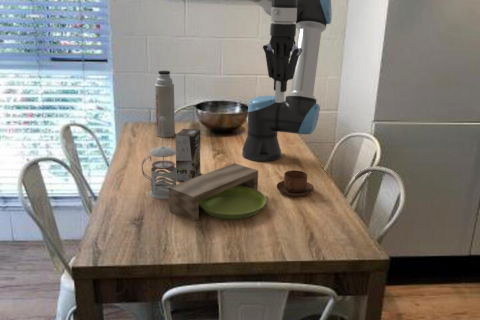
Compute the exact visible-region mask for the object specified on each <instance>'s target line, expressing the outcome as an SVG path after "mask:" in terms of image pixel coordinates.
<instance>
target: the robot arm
mask: <svg viewBox="0 0 480 320" xmlns="http://www.w3.org/2000/svg"><path fill="white" fill-rule="evenodd" d="M250 1H251V2H253V3H255V4H256V5H258V6H259V7H261V8H262V9H263V11H264V12H265V14H267V15H269V16H270V21H271V22H272V23H270V30H269V36H270V40H269V43H267V44H266V45H265V44H264V45H263V46H262V49H263V51H264V54H265V60H266V61H265V62H266V67H267V68H266V69H267V75H268V78H271V79H273V91H274V92H275V94H274V95H263V96H262V95H261V96H256V97H253V98H251V99H250V100H249V101H248V106H247V107H248V108H247V131H246V133H247V136H246V138H245V141H244V144H243V147H242V150H241V151H242V153H241V154H242V157H244V158H245V159H247V160H250V161H255V162H271V161H272V162H273V161H276V160H279V159H280V158H281V155H282V150H281V146H280V141H279V139H278V133H286V134H287V133H288V134H295V135H296V134H297V135H298V134H299V135H300V136H302V135H312V133H314V131H315V129H316V127H317V124H318V121H319V116H320V111H321V106H320V104H319V103H317V100H318V99H317V98H316V97H315V96H314V91H315V85H316V84H315V83H316V75H317V69H318V60H319V53H320V46H321V38H322V33H323V32H324V31H325V30H326V29H327V25H331V23H332V17H333V16H332V15H333V14H332V0H250ZM297 31H298V33H297ZM296 34H297V39H296V40H295V37H296ZM288 81H291V86H290V92H289V93H287V95H286V96H285V93H286V92H287V89H288V88H287V87H288Z"/></svg>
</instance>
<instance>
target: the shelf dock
mask: <svg viewBox="0 0 480 320" xmlns="http://www.w3.org/2000/svg"><path fill="white" fill-rule="evenodd" d="M258 183H259V170H258V169H256V168H255V169H254V168H251V167H248V166H244V165H241V164H239V163H235V162H234V163H231V164H229V165H226V166H222V167H221V168H218V169H215V170H212V171H209V172H207V173H204V174H201V175H198V177H196V178H193V179H190V180H188V181H182V182H180V183H178V184H177V183H176V185H174V186H171V187H169V200H168V204H169V205H168V206H169V207H168V208H169V209H168V210H169V212H170V213H173V214H175V215H178V216H180V217H181V218H184V219H187V220H189V221H191V222H195V221H198V220H199V219H200V217H199V213H200V211H199V210H200V209H199V208H200V206H199V201H201V200H203V199H205V198H208V197H210V196H213V195H215V194H217V193H220V192H222V191H224V190H227V189H229V188H232V187H234V186H243V187H248V188H252V189H255V190H257V191H259V190H258V189H259V188H258V186H259V184H258Z"/></svg>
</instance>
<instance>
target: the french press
mask: <svg viewBox="0 0 480 320" xmlns="http://www.w3.org/2000/svg"><path fill="white" fill-rule="evenodd" d="M159 121H162V137H161V138H162V141H161V142H162V143H161V145H162V146H161V145H160V146H157V147H155V148H152V149H151V150H150V152H149V153H150V155H148V156H146V157H145V158H144V159H143V160H142V163H141V171H142V172H141V173H142V175H143V177H145V178H146V179H148V180H150V186H151V187H150V191H149V192H148V195H149V197H150V198H153V199H156V200H157V199H159V200H167V199H169V187H171V186H174V185H177V180H176V162H174V161H172V160H171V161H170V160H165V159H164V158H168V157H173V156H174V155H175V156H176V149H174V148H172V147H170V146H165V145H164V137H163V121H165V117H160V118H159ZM152 156H153V157H155V158H162V160H157V161H154V162H152ZM148 159H149V161H150V162H152V164H151V166H152V167H151V169H150V170H151V171H150V172H151V174H150V175H151V177H150V176H149V175H147V174H146V173H145V171H144V163H146V161H147V160H148Z"/></svg>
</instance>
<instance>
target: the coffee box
mask: <svg viewBox="0 0 480 320" xmlns="http://www.w3.org/2000/svg"><path fill="white" fill-rule="evenodd" d="M175 151H176V153H175V168H176V181H180V182H181V181H182V182H185V181H188V180H190V179H193V178H196V177H198V176H200V174H201V129H198V128H182V129H181V130H180V131H178V133H175Z"/></svg>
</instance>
